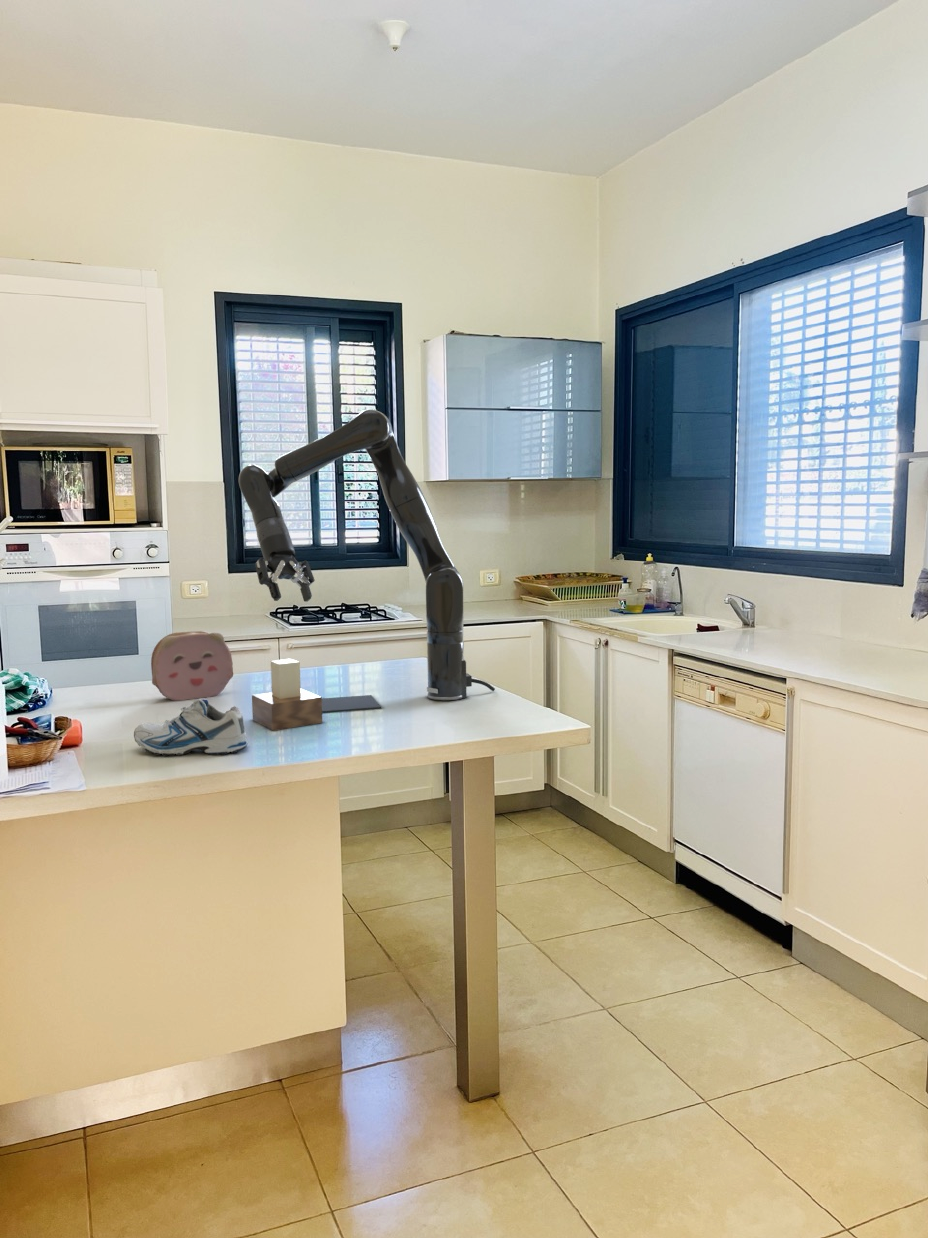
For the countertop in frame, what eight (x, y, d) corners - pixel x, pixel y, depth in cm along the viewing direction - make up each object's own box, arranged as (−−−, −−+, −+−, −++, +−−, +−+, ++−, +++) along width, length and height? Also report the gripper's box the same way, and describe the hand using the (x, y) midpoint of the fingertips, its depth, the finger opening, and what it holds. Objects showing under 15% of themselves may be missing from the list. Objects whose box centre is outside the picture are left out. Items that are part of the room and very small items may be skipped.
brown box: (300, 712, 222) (300, 688, 221) (322, 722, 212) (321, 697, 211) (252, 720, 215) (251, 694, 215) (272, 730, 205) (271, 704, 205)
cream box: (292, 692, 216) (290, 658, 215) (301, 696, 212) (299, 661, 211) (271, 695, 214) (270, 661, 213) (280, 699, 209) (279, 664, 208)
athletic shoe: (140, 742, 195) (134, 691, 191) (252, 740, 197) (248, 689, 193) (128, 767, 186) (121, 714, 182) (245, 765, 188) (241, 712, 184)
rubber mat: (371, 696, 239) (371, 695, 239) (381, 708, 226) (381, 706, 226) (308, 701, 235) (308, 699, 235) (314, 713, 221) (314, 711, 221)
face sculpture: (156, 703, 234) (152, 638, 231) (150, 698, 239) (146, 634, 237) (235, 694, 244) (232, 631, 241) (227, 689, 250) (224, 628, 247)
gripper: (257, 530, 217) (276, 591, 212) (307, 534, 228) (326, 592, 222) (241, 546, 222) (259, 606, 217) (291, 550, 232) (309, 607, 227)
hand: (293, 599), depth 220 cm, fingers open, 8 cm apart
